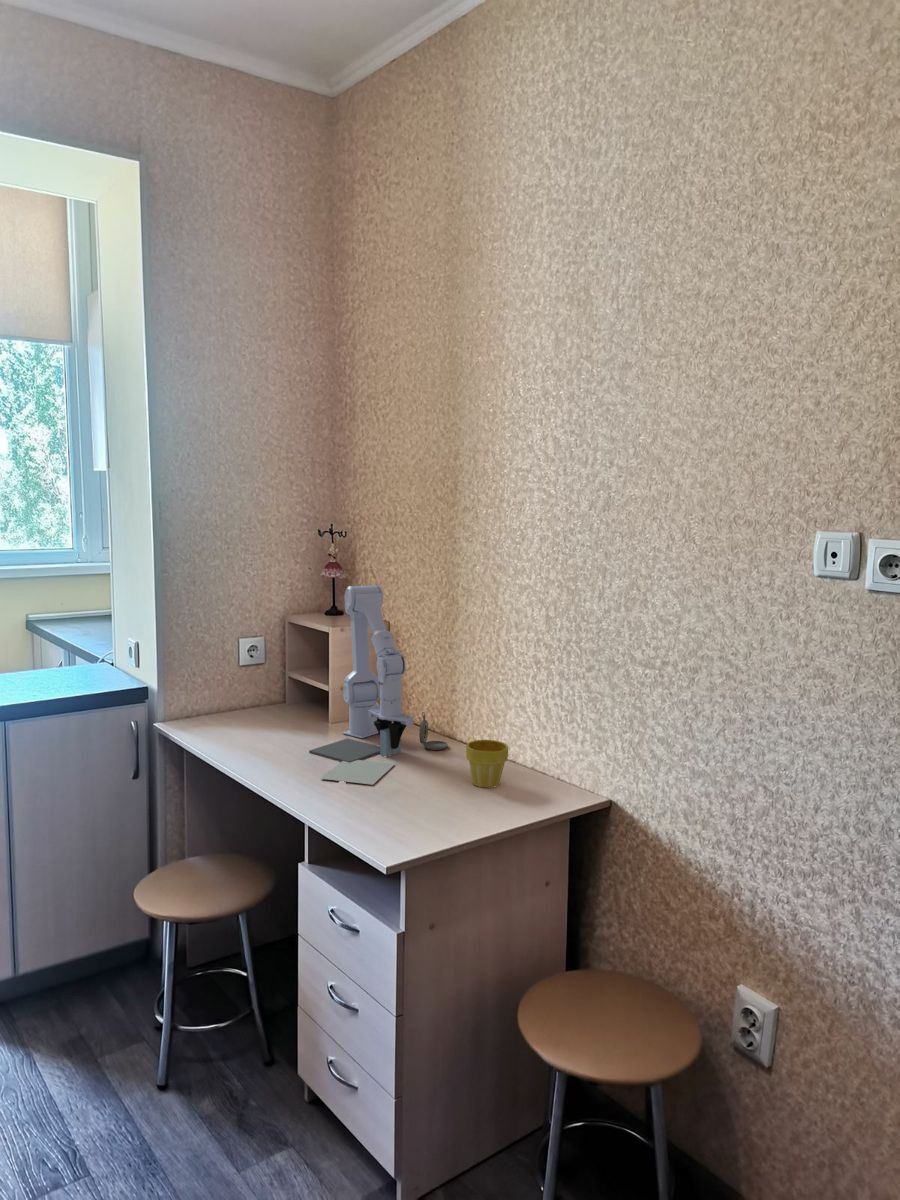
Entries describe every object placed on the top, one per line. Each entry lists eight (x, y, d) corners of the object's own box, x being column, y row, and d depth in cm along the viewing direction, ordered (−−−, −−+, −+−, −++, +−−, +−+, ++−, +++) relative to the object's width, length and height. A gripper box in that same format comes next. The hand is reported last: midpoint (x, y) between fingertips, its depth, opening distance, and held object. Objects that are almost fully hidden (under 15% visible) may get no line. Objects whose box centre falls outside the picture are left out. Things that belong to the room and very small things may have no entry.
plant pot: (514, 781, 215) (515, 743, 214) (495, 793, 206) (496, 754, 205) (478, 774, 220) (478, 736, 219) (457, 785, 212) (458, 747, 210)
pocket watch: (451, 749, 240) (451, 714, 239) (422, 752, 237) (423, 717, 236) (440, 741, 248) (441, 707, 247) (412, 744, 245) (413, 710, 243)
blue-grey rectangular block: (394, 750, 239) (394, 725, 238) (400, 751, 238) (400, 727, 237) (379, 755, 234) (380, 730, 233) (386, 757, 233) (386, 732, 232)
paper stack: (429, 770, 224) (429, 767, 224) (398, 803, 200) (398, 800, 200) (345, 761, 230) (345, 758, 230) (305, 792, 206) (305, 789, 206)
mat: (347, 740, 248) (347, 738, 248) (387, 750, 239) (387, 748, 239) (309, 752, 236) (309, 750, 236) (349, 763, 227) (349, 761, 227)
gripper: (360, 696, 235) (360, 745, 237) (401, 705, 227) (401, 755, 228) (378, 691, 241) (377, 739, 243) (418, 700, 232) (418, 749, 234)
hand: (390, 746), depth 236 cm, fingers open, 3 cm apart
